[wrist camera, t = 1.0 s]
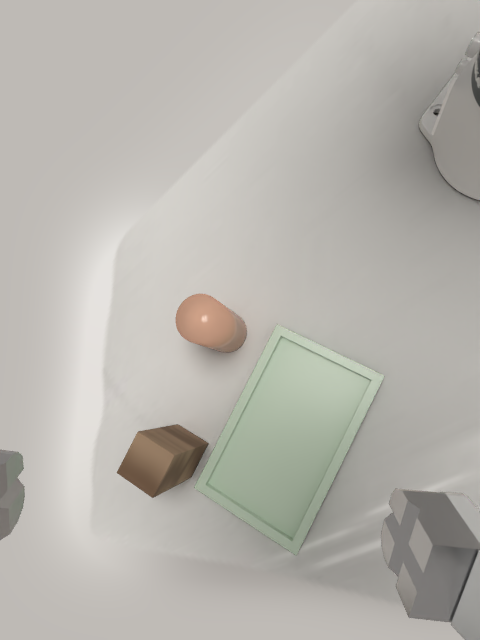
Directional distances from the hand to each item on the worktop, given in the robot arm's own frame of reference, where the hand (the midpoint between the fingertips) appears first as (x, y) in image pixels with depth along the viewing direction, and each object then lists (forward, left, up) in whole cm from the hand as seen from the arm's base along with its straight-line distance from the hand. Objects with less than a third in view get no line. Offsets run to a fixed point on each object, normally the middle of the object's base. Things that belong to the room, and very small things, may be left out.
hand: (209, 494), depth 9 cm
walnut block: (+12, -12, -39) cm, 42 cm away
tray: (+4, -2, -39) cm, 39 cm away
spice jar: (-3, -14, -39) cm, 42 cm away
